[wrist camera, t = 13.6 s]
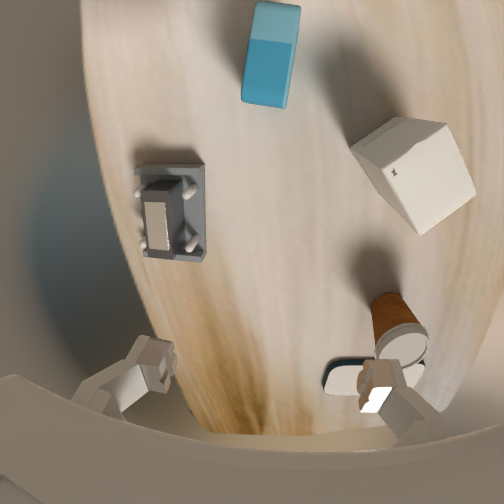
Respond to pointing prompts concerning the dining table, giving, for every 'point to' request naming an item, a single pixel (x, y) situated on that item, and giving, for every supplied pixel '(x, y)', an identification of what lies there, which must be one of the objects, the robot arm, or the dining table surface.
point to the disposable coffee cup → (398, 331)
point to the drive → (163, 218)
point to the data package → (270, 54)
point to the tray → (192, 204)
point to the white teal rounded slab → (345, 376)
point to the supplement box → (416, 170)
